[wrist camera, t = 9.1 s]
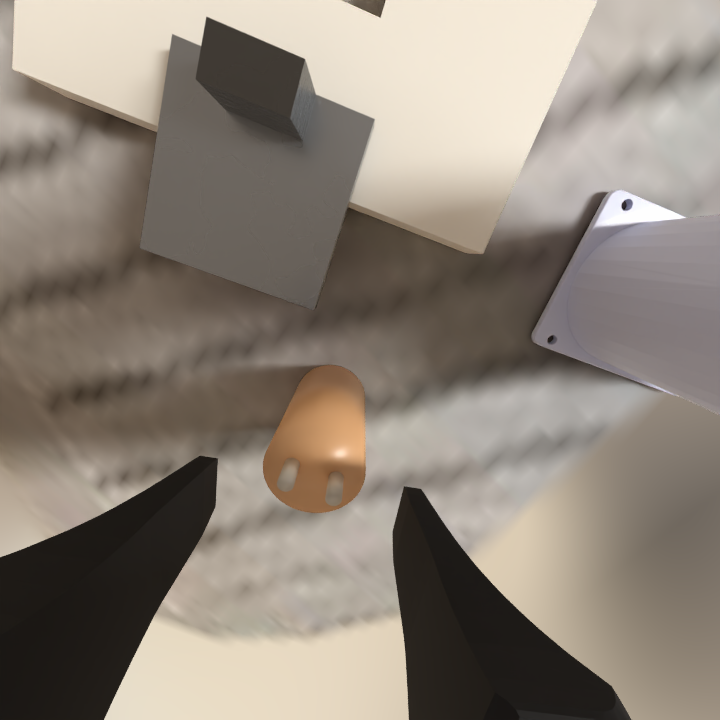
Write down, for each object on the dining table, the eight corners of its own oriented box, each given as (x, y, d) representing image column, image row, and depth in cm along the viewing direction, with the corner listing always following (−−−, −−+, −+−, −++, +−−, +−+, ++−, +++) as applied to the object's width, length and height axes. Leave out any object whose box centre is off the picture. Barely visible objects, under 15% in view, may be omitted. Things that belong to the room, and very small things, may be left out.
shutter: (374, 126, 13) (377, 89, 10) (316, 307, 16) (304, 321, 13) (183, 46, 13) (126, -18, 10) (150, 248, 15) (96, 247, 12)
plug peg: (374, 378, 19) (382, 463, 12) (351, 435, 21) (344, 548, 13) (308, 355, 19) (270, 427, 11) (288, 415, 20) (241, 518, 12)
